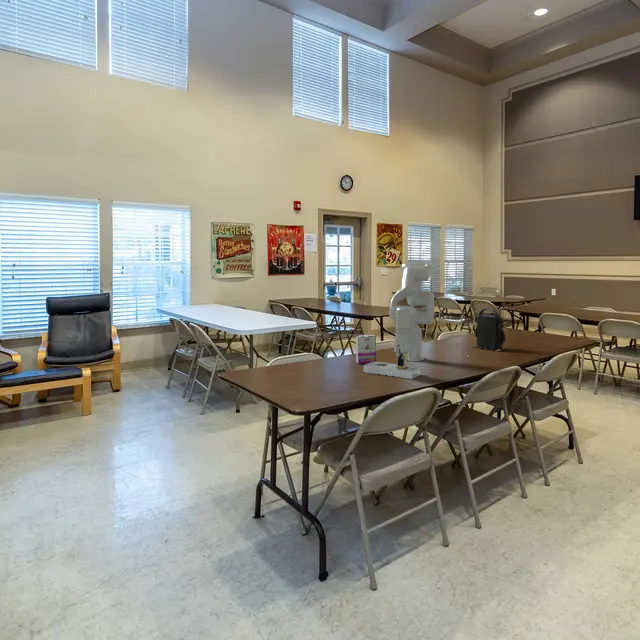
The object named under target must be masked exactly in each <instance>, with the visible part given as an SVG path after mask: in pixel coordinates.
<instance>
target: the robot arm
mask: <svg viewBox="0 0 640 640" xmlns="http://www.w3.org/2000/svg"><path fill="white" fill-rule="evenodd" d="M400 268H401V272H402V273H401V274H402V276H401V283H400V284H401V285H400V289H399V290H397V292H395V294H394V295H393V296H392V298H391V299H390V305H389V309H388V311H389V312H388V313H389V318H390V319H392V320H394V321H395V336H394V346H393V347H394V349H393V351H394V353H395V355H396V356H397V357H396V359H398V366H401V367H403V366H404V359H403V353H405V352H408V358H407V360H408V361H407V362H421V360H422V361H424V359H425V358H424V356H422V355H423V350H422V339H423V337H422V336H423V331H422V329H421V327H420V326H419V325H432V324H433V323H434V321H435V294H434V292H433V291H432V290H429V289H428V290H423V289H422V282H427V281H428V280H429V279H430V277H431V276H432V272H433V268H432V264H431V263H430V262H405V263H403V264H402V265H401V267H400ZM405 299H406V301H407V302H406V303H407V304H408V305H397V304H398V303H399V302H400V301H402V300H405ZM424 307H425V308H424ZM400 352H401V353H400ZM400 354H402V355H400Z"/></svg>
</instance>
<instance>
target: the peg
mask: <svg viewBox="0 0 640 640" xmlns="http://www.w3.org/2000/svg"><path fill="white" fill-rule="evenodd" d="M400 353H401V352H400ZM400 355H402V354H400ZM407 358H408V352H405V353H403V359H404V366H403V367H401V366H398V359H397V358H396V359H397V360H396V361H397V362H396V363H397V368H399V369H407V366H408V361H407Z"/></svg>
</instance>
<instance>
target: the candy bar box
mask: <svg viewBox="0 0 640 640" xmlns="http://www.w3.org/2000/svg"><path fill="white" fill-rule="evenodd" d="M355 350H356V351H355V352H356V353H355V361H356V363H357V364H358V365H362V364H363V365H366V364H368V363H371V362H373V361H375V362H377V336H376V335H375V334H362V335H355Z"/></svg>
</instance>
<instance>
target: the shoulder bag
mask: <svg viewBox="0 0 640 640" xmlns="http://www.w3.org/2000/svg"><path fill="white" fill-rule="evenodd" d="M486 310H488V311H492V312H493V313H494V314H488V313H487V314H483V313H484V312H485V311H486ZM475 322H476V325H477V327H475V328H474V329H475V330H474V331H475V332H474V337H475V338H476V346H477V347H481V348H486V349H491V350H490V351H492V350H497V349H503V346H504V343H505V342H506V339H507V338H506V334H505V331H504V318H503V317H502V316H501V315H500V314H499V312H498V311H497V310H495V308H494V309H493V308H483V309H481V310H480V311H479V313H478V316H477V319H476V320H475ZM486 349H485V350H486Z"/></svg>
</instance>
